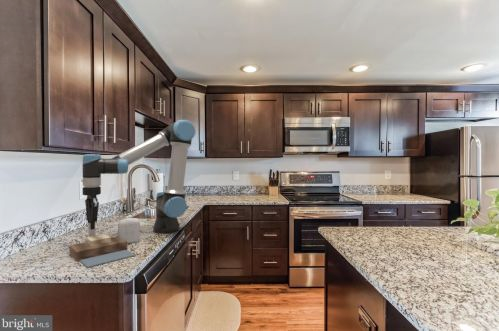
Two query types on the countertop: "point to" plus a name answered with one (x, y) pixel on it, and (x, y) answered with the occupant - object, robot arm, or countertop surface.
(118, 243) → the board
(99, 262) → the rubber mat
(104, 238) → the birch tile
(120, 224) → the photo printer
